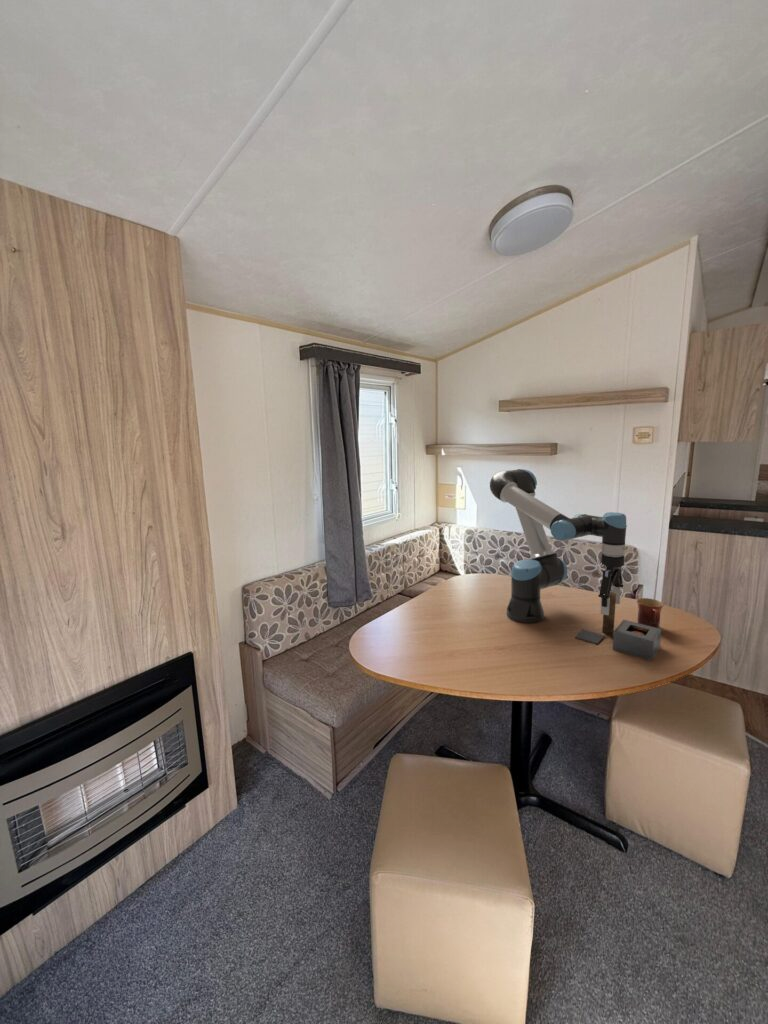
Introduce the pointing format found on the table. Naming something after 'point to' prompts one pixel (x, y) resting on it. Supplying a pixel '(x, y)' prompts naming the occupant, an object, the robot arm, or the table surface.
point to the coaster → (589, 636)
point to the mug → (649, 612)
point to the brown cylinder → (609, 616)
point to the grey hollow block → (637, 639)
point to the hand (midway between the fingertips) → (610, 608)
